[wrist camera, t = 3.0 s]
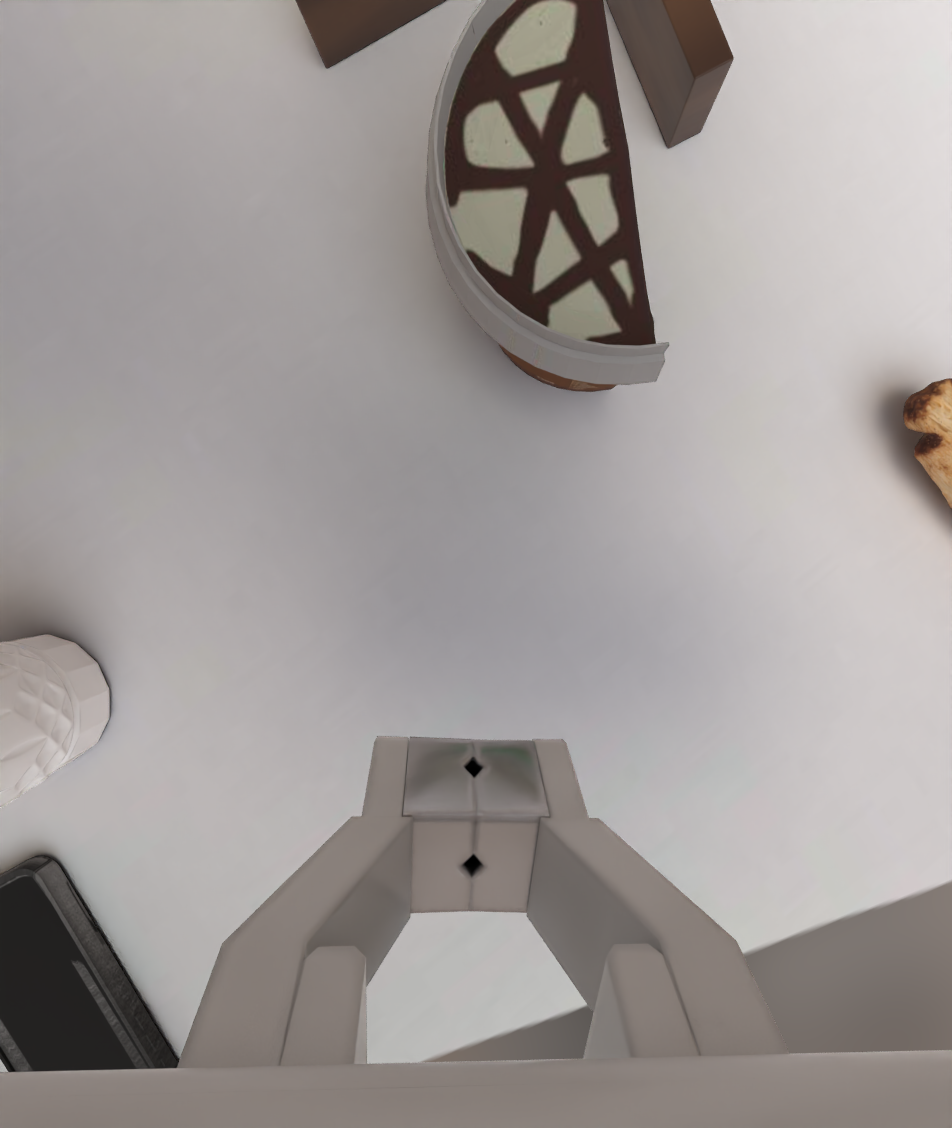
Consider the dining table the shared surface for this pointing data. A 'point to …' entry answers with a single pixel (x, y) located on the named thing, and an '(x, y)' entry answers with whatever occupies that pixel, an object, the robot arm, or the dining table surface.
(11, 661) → the white cup
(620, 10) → the corner guide
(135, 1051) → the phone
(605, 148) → the food container
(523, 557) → the dining table surface
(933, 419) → the lashed bone hook
